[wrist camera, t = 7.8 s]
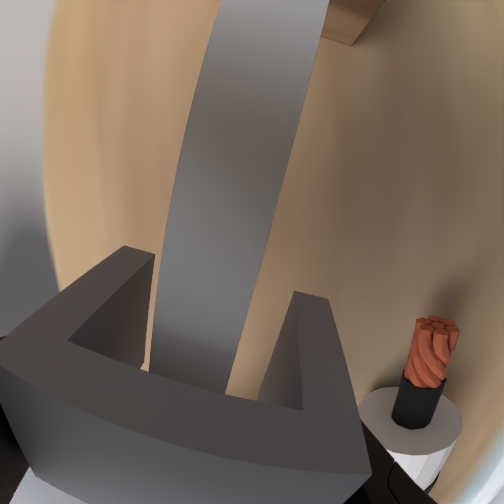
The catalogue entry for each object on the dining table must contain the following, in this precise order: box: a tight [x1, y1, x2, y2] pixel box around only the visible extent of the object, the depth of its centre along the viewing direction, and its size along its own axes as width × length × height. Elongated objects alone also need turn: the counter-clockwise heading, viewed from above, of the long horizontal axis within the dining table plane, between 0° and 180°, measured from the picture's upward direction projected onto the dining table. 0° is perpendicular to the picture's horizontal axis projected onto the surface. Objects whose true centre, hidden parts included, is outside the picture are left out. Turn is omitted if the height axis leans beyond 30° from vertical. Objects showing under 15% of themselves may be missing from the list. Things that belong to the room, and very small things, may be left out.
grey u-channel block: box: [0, 246, 372, 504], centre depth 7 cm, size 4×6×6 cm, turn 76°
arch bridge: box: [149, 0, 386, 394], centre depth 10 cm, size 28×5×9 cm, turn 166°
